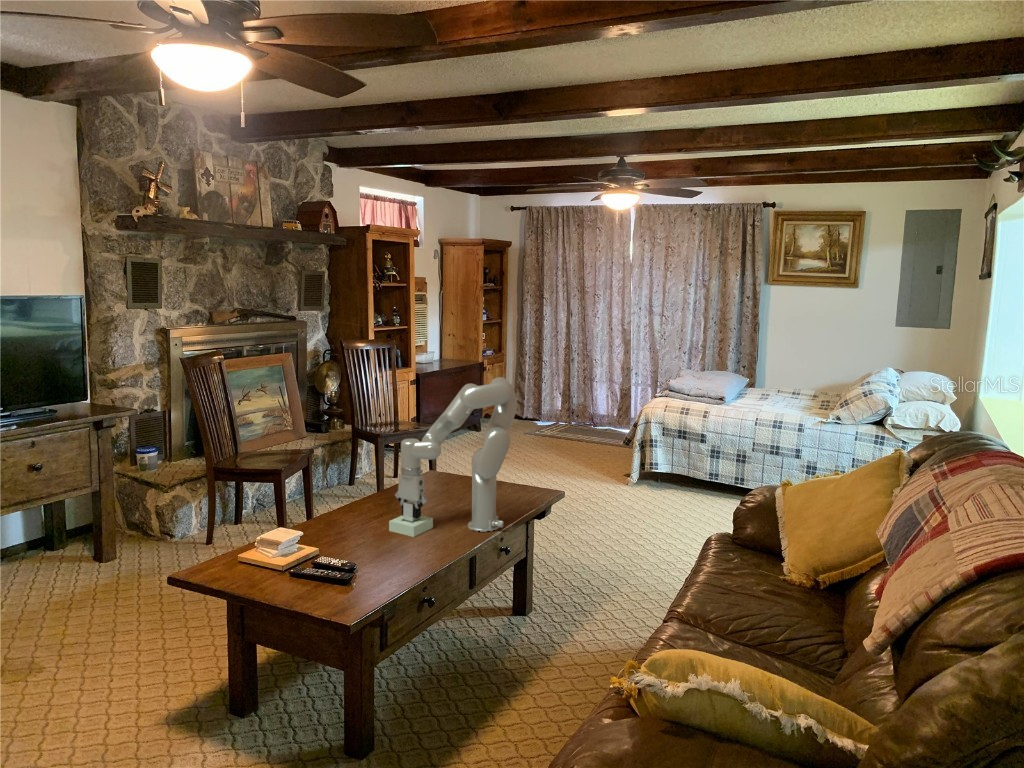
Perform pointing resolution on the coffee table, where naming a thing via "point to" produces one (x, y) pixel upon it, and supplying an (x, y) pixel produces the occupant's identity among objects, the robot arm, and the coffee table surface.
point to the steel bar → (409, 512)
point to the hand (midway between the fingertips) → (411, 515)
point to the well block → (410, 526)
